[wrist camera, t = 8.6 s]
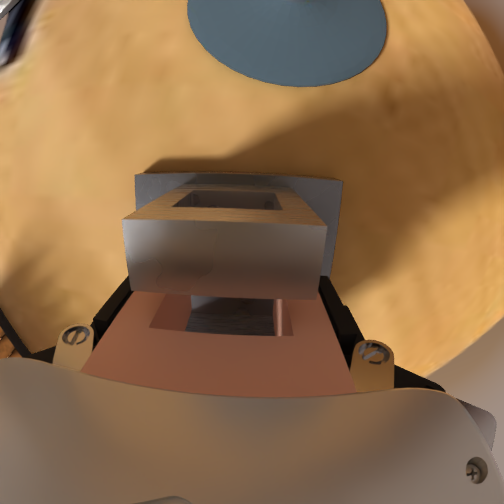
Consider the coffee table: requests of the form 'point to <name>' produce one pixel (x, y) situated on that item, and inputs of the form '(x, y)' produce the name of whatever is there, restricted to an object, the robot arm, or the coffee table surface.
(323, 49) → the cocktail glass
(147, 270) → the bracket
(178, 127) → the coffee table surface
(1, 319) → the ammunition clip
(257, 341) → the block
